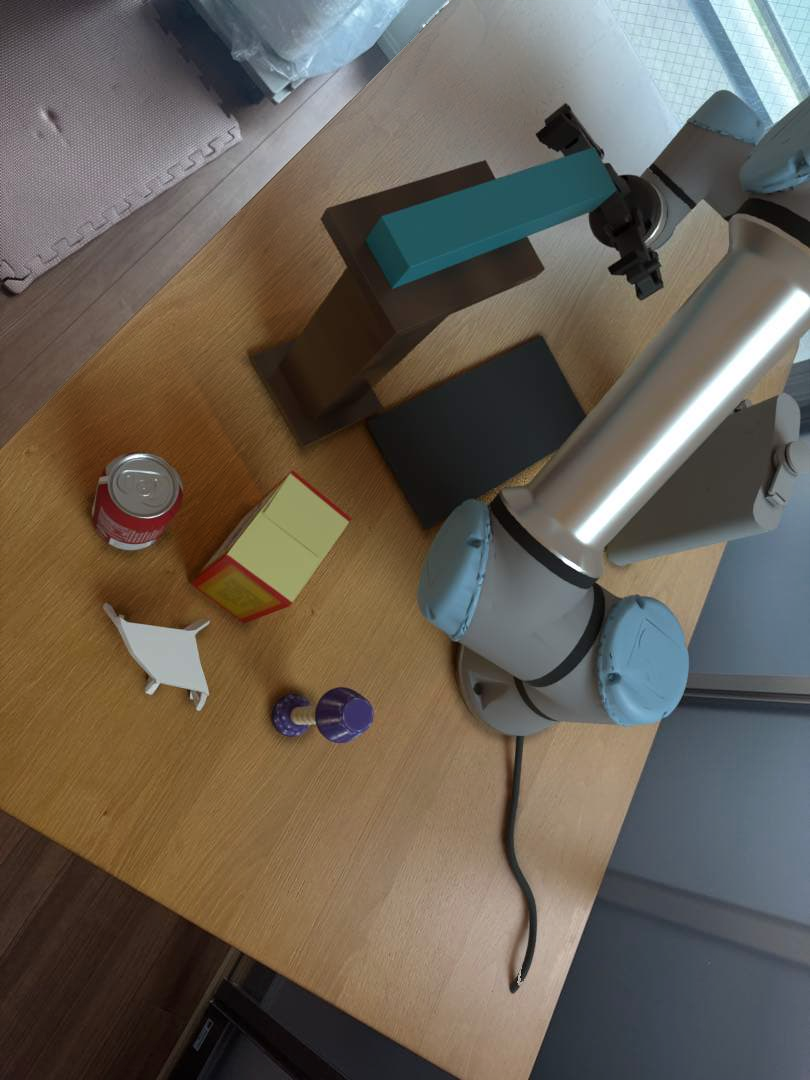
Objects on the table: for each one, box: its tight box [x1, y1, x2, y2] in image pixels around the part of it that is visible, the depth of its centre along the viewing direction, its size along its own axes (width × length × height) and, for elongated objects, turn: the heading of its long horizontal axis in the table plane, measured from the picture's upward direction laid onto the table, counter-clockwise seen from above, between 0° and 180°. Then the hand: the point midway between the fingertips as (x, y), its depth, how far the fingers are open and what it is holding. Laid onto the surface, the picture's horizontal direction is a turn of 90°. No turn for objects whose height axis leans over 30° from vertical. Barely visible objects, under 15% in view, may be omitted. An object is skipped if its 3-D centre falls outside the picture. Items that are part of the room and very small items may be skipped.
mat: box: [364, 335, 587, 531], centre depth 90 cm, size 30×14×1 cm, turn 123°
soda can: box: [91, 451, 184, 552], centre depth 65 cm, size 7×7×12 cm
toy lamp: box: [270, 686, 375, 744], centre depth 66 cm, size 5×5×17 cm
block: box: [365, 147, 617, 289], centre depth 56 cm, size 23×4×3 cm, turn 123°
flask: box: [605, 392, 810, 567], centre depth 88 cm, size 17×5×25 cm, turn 156°
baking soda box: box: [190, 469, 353, 625], centre depth 67 cm, size 10×6×16 cm
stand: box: [249, 159, 546, 450], centre depth 68 cm, size 16×11×30 cm
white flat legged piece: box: [102, 602, 211, 712], centre depth 66 cm, size 12×8×5 cm
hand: (586, 195), depth 65 cm, fingers open, 13 cm apart
